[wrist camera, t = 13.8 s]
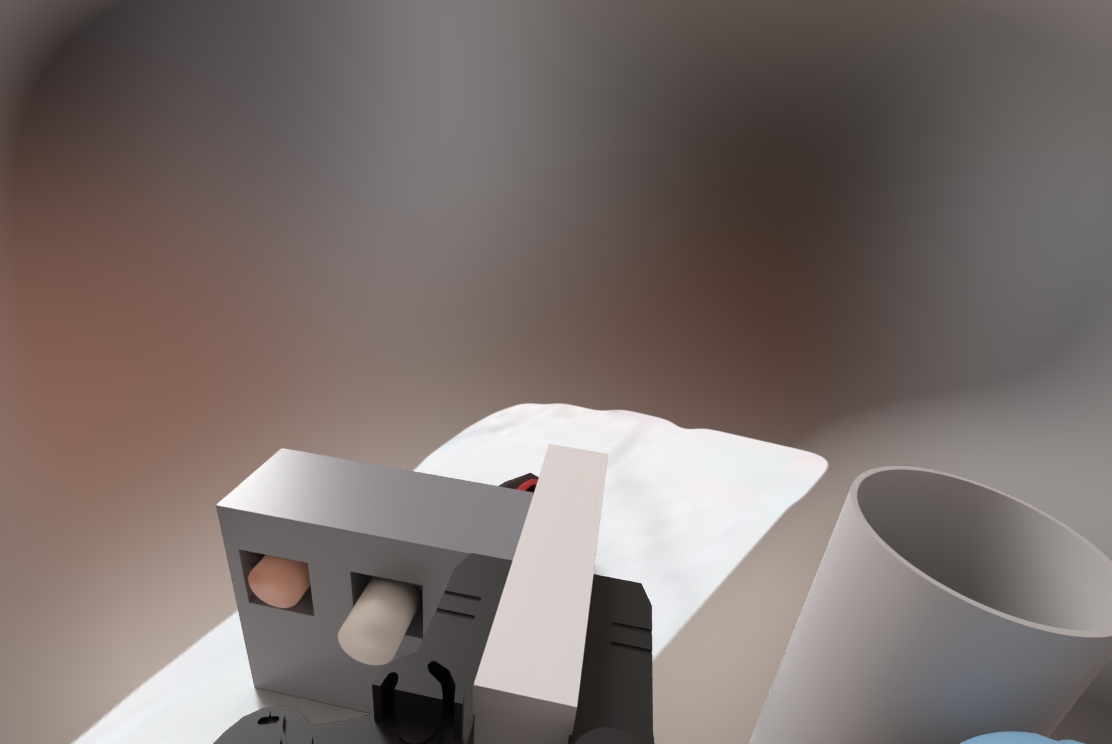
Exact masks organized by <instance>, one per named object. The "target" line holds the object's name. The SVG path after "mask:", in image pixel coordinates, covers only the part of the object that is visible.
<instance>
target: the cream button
mask: <svg viewBox="0 0 1112 744" xmlns="http://www.w3.org/2000/svg"><path fill="white" fill-rule="evenodd" d="M419 604H420V596H419V593H418V591H417V589H416V588H415V587H414V585H413V584H412V583H407V582H401V581H396V580H391V579H386V578H381V577H376V576H374V577H373V578H372V579H371V580H370V581H369V583H368V585H367V586H366V588H365V589H364V591H363V593H362V594H361V596H360V598H359V599H358V601H357V602H356V604H355V606H354V607H353V609H352V610H351V612H350V614H349V615H348V617H347V619H346V620H345V622H344V623H343V625H342V627H341V628H340V630H339V632H338V641H339V643H340V645H341V647H342V649H343V650H344V651H345V652H346V653H347V654H348V655H349V656H351V657H352V658H353V659H355V660H357V661H359V662H362V663H364V664H368V665H383V664H386V663H388V662H390V661H391V660H392V659H393V658H394V656H395V654H396V652H397V650H398V648H399V645H400V643H401V641H402V639H403V637H404V635H405V633H406V631H407V629H408V627H409V625H410V623H411V621H412V619H413V617H414V614H415V612H416V610H417V608H418V606H419Z"/></svg>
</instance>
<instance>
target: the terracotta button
mask: <svg viewBox="0 0 1112 744" xmlns="http://www.w3.org/2000/svg"><path fill="white" fill-rule="evenodd" d="M248 582H249V586H250V588H251V590H252V591H253V592H254V594H255V595H256V596H257V597H258V598H259V599H261V600H262V601H264V602H265V603H267V604H269V605H271V606H274V607H279V608H289V607H292V606H294V605H296V604H297V603H298V601H299V600H300V599H301V597H302V596H303V595H304V593H305V592H306V591H307V589H308V588H309V587H310V577H309V570H308V563H306V562H301V561H295V560H290V559H285V558H280V557H275V556H270V555H265V556H264V557H263V558H262V559H261V560H260V562H259V563H258V564H257V565H256V566H255V567H254V568H253V569H252V570H251V572H250V573H249V576H248Z"/></svg>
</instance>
